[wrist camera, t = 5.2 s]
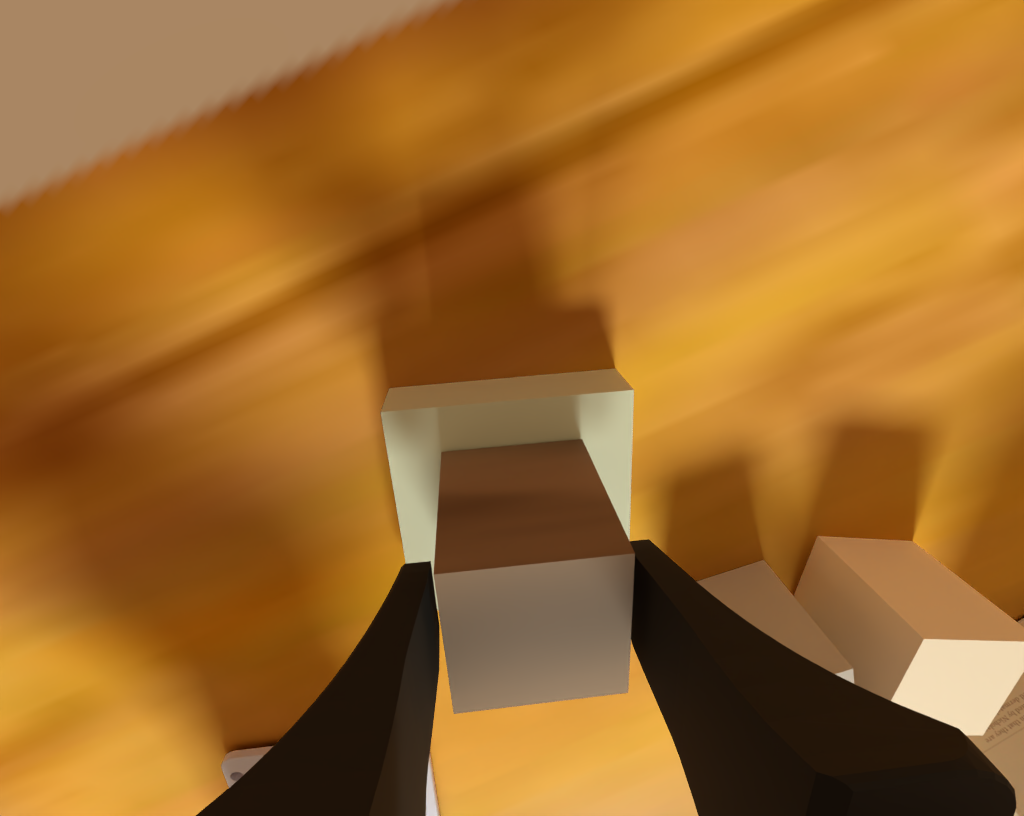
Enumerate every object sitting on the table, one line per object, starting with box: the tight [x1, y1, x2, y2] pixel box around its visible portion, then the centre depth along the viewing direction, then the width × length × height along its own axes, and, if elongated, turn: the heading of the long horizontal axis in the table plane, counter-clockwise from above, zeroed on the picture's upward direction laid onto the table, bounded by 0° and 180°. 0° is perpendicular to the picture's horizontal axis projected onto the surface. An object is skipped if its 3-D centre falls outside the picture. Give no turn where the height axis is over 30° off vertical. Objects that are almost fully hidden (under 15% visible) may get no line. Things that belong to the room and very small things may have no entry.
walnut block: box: [434, 439, 635, 714], centre depth 14 cm, size 4×4×5 cm
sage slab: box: [381, 368, 634, 610], centre depth 17 cm, size 7×7×2 cm
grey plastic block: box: [696, 560, 854, 683], centre depth 19 cm, size 4×4×5 cm
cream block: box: [794, 536, 1024, 735], centre depth 19 cm, size 4×4×5 cm
